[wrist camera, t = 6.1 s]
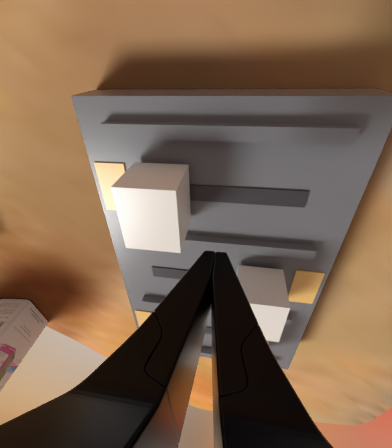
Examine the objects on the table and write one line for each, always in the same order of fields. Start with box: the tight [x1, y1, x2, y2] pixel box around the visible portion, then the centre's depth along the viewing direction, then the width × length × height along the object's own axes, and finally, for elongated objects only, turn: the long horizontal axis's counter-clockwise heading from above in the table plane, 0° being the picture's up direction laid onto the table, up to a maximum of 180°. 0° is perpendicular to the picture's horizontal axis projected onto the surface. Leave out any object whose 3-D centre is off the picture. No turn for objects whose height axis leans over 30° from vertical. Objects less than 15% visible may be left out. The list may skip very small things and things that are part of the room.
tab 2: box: [236, 265, 290, 342], centre depth 16 cm, size 3×4×3 cm
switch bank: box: [71, 89, 392, 369], centre depth 19 cm, size 15×24×3 cm, turn 1°
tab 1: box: [111, 162, 191, 253], centre depth 13 cm, size 3×4×3 cm
